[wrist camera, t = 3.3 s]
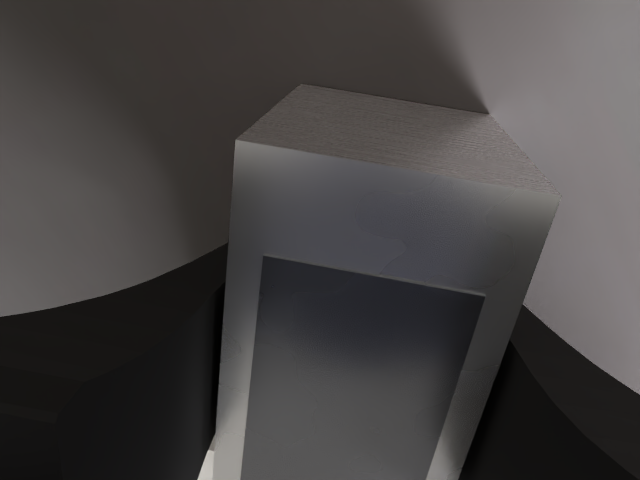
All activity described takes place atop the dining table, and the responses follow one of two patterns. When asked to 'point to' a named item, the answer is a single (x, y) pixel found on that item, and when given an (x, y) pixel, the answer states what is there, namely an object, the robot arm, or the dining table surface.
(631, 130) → the dining table surface
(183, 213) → the dining table surface
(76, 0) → the dining table surface
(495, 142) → the block
